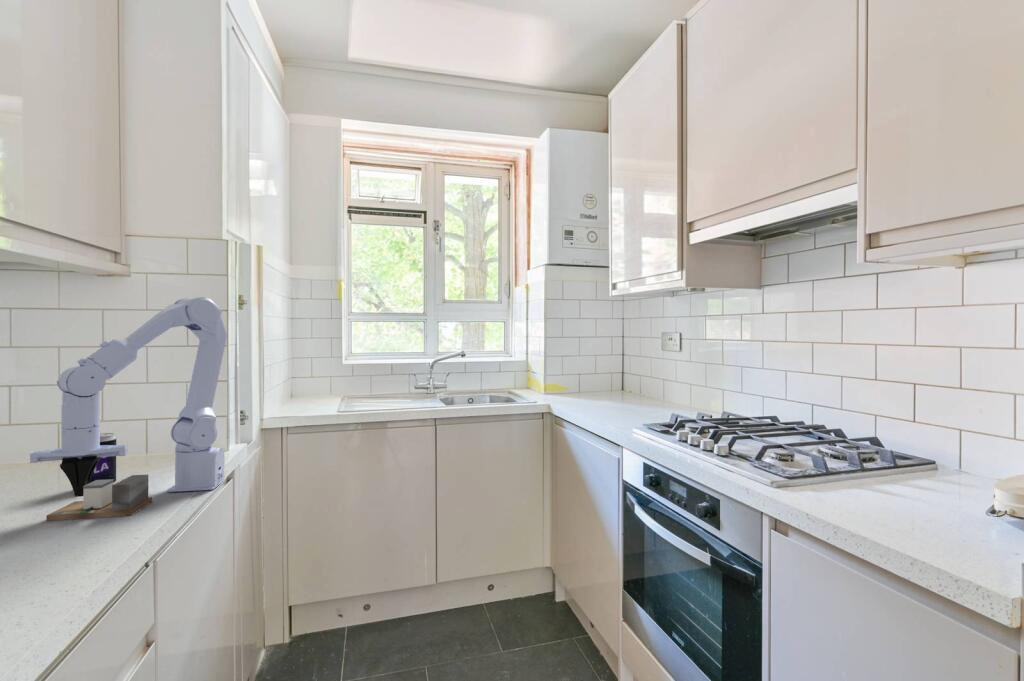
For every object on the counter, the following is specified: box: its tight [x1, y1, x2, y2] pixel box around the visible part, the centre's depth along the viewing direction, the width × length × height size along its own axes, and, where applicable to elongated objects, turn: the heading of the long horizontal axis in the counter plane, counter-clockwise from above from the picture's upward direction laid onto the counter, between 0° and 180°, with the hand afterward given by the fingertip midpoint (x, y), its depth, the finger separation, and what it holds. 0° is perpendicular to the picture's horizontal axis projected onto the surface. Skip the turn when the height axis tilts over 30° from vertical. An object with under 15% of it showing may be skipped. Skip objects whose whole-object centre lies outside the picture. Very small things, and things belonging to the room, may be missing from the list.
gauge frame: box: [46, 474, 153, 522], centre depth 97 cm, size 14×8×6 cm, turn 102°
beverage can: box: [89, 432, 117, 484], centre depth 112 cm, size 6×6×12 cm
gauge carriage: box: [82, 479, 115, 511], centre depth 96 cm, size 3×6×4 cm, turn 12°
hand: (80, 495), depth 96 cm, fingers closed
